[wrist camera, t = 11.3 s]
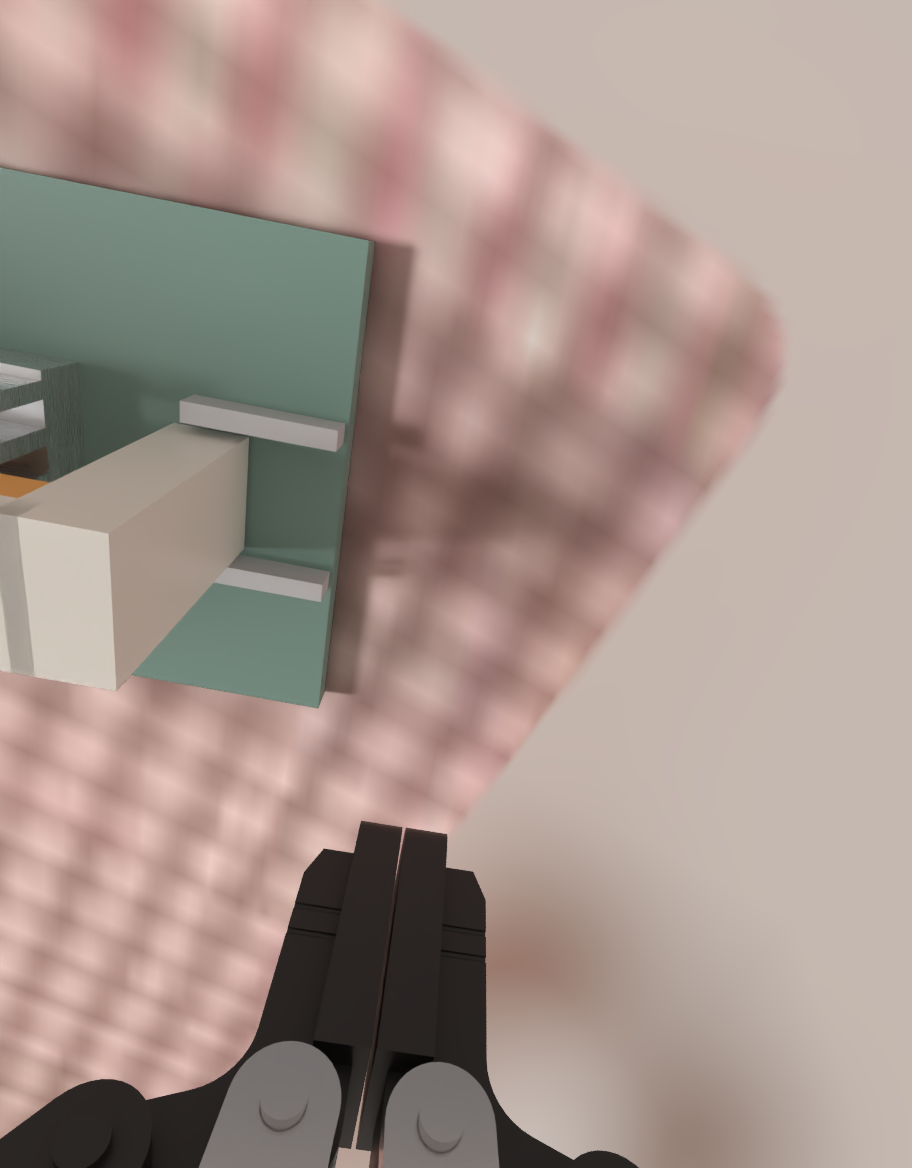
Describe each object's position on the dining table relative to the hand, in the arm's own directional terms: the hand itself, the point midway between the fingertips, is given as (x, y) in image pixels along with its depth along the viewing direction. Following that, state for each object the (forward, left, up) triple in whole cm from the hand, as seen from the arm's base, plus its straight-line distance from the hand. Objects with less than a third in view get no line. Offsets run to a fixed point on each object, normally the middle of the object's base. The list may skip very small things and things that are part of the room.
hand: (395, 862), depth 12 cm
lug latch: (-8, +2, -11) cm, 14 cm away
